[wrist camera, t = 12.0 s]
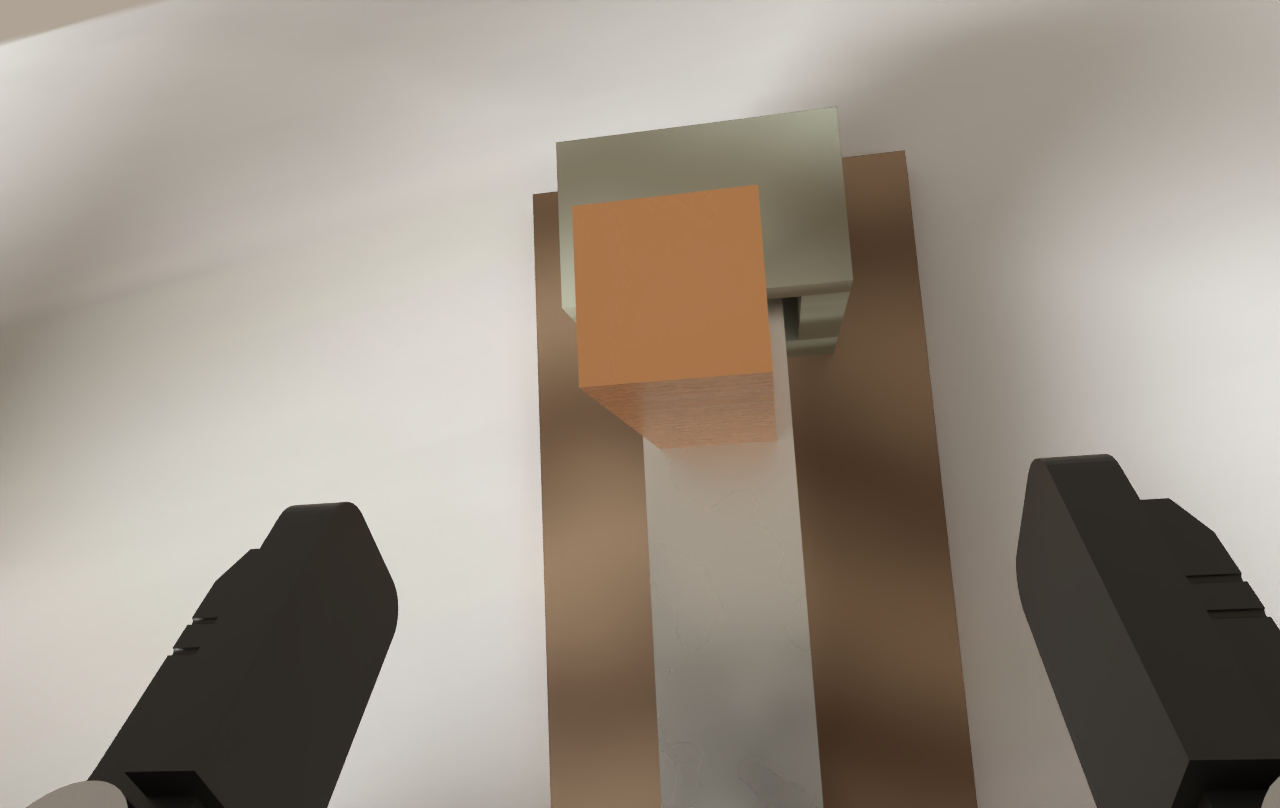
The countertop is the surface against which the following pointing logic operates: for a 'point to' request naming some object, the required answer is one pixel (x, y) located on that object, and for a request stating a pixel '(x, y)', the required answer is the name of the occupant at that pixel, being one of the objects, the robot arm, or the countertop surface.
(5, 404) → the countertop surface
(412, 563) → the countertop surface
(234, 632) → the robot arm
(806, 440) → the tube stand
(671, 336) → the orange and grey blocks
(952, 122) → the countertop surface
